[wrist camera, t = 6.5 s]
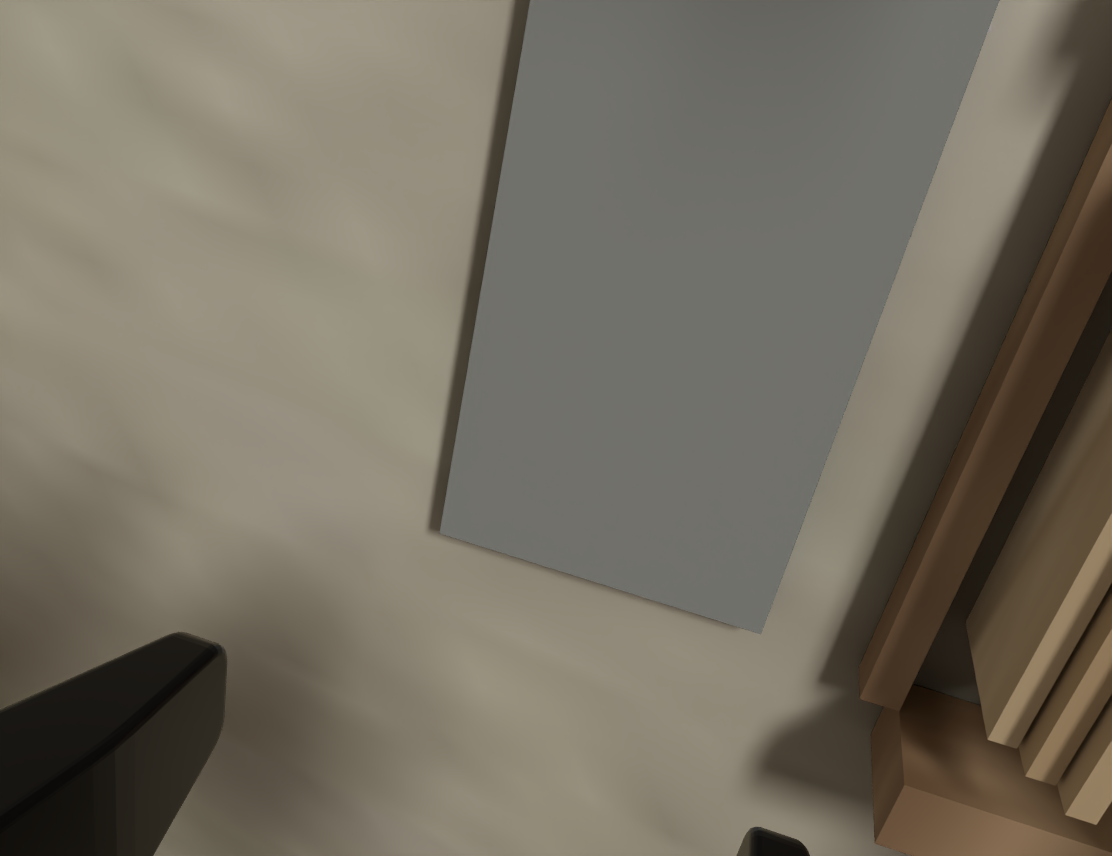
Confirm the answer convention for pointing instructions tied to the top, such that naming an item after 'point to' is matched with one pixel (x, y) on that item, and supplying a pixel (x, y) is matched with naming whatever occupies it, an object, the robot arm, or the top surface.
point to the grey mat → (693, 278)
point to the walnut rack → (943, 559)
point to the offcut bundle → (1057, 614)
